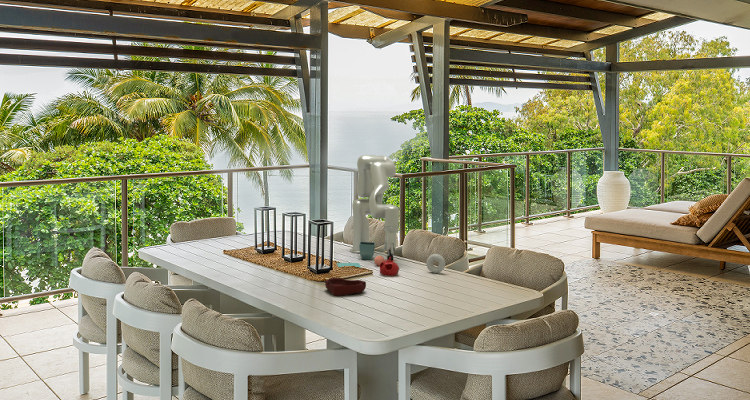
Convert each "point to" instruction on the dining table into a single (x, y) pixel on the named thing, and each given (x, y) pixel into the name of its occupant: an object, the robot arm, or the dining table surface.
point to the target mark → (349, 264)
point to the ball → (378, 260)
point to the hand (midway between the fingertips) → (390, 263)
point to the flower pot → (367, 250)
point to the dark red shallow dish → (344, 286)
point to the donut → (440, 261)
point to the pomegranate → (389, 268)
